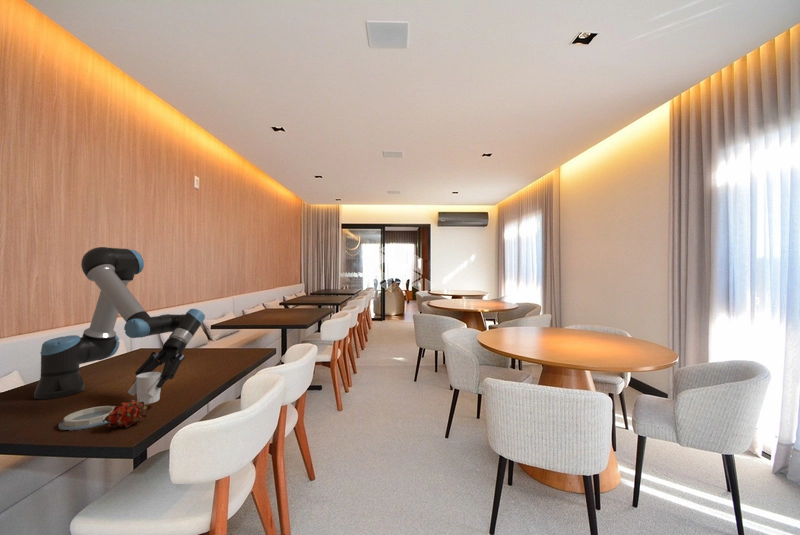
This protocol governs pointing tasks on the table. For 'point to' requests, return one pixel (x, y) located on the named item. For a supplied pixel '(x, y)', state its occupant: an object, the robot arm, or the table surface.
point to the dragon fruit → (127, 414)
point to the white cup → (147, 387)
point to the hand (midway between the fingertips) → (140, 394)
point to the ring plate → (86, 418)
